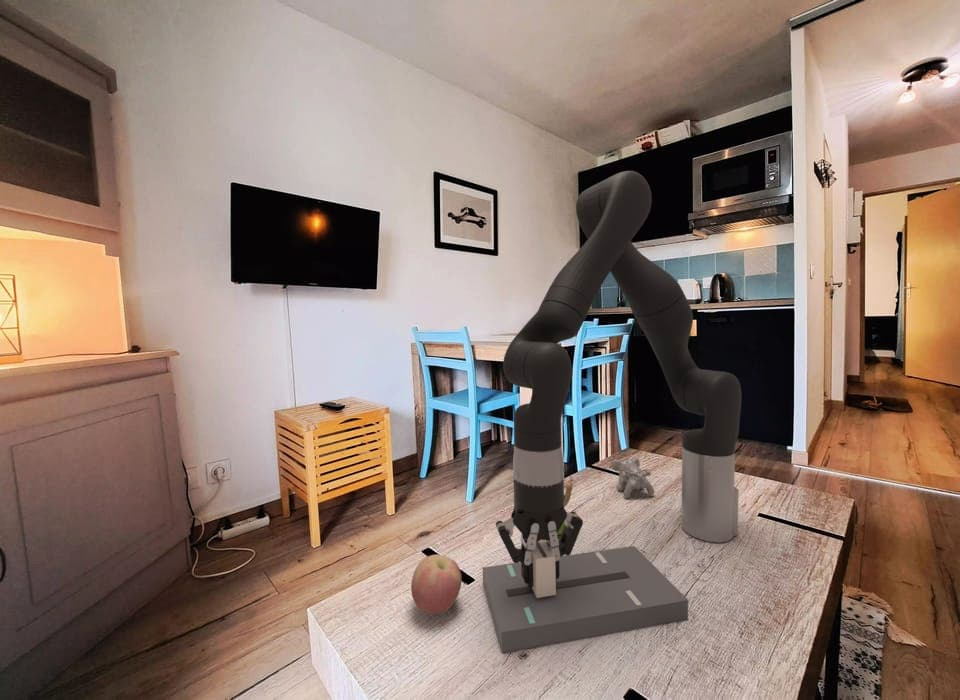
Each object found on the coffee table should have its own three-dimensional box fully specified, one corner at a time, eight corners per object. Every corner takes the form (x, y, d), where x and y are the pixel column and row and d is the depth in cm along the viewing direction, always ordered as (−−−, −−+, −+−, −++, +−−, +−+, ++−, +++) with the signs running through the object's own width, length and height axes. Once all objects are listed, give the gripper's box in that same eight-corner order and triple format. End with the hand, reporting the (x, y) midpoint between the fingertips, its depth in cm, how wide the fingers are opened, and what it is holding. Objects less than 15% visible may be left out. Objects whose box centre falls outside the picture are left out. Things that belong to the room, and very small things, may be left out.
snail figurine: (573, 542, 78) (573, 483, 77) (541, 539, 79) (540, 482, 78) (572, 527, 83) (572, 473, 82) (542, 525, 84) (541, 471, 83)
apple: (441, 636, 55) (439, 583, 55) (401, 616, 59) (399, 566, 59) (471, 601, 62) (470, 553, 61) (434, 585, 66) (432, 540, 66)
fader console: (634, 561, 71) (634, 545, 71) (687, 619, 57) (688, 599, 57) (483, 584, 66) (482, 566, 66) (502, 653, 52) (501, 631, 52)
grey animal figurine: (633, 504, 93) (633, 472, 92) (598, 485, 104) (598, 457, 103) (661, 495, 96) (661, 465, 96) (624, 478, 107) (624, 451, 107)
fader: (544, 573, 63) (543, 537, 63) (555, 594, 58) (555, 555, 58) (526, 576, 62) (525, 539, 62) (536, 598, 58) (535, 558, 57)
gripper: (572, 460, 64) (573, 561, 65) (487, 468, 61) (491, 573, 63) (593, 478, 56) (594, 591, 58) (498, 488, 54) (501, 606, 55)
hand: (540, 581), depth 60 cm, fingers closed on fader, 3 cm apart
